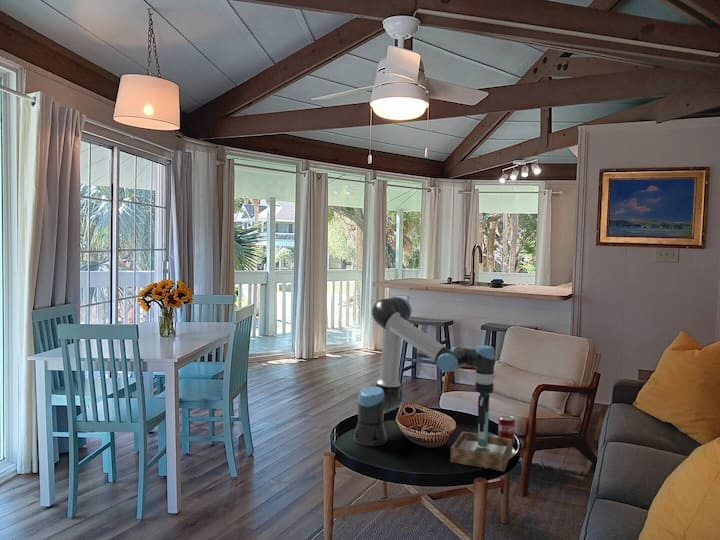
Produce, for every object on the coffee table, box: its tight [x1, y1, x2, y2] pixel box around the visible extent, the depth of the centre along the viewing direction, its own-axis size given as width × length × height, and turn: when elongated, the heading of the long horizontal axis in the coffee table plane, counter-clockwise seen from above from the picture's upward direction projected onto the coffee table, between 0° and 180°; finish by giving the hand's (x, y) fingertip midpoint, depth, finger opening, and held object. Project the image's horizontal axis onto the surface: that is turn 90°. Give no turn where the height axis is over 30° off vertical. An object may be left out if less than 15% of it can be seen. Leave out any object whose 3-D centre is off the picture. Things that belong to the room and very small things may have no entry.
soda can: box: [497, 415, 516, 447], centre depth 254 cm, size 7×7×12 cm
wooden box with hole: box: [449, 431, 513, 472], centre depth 237 cm, size 22×22×6 cm
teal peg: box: [477, 412, 489, 447], centre depth 237 cm, size 4×4×14 cm
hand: (482, 436), depth 237 cm, fingers closed on teal peg, 4 cm apart
